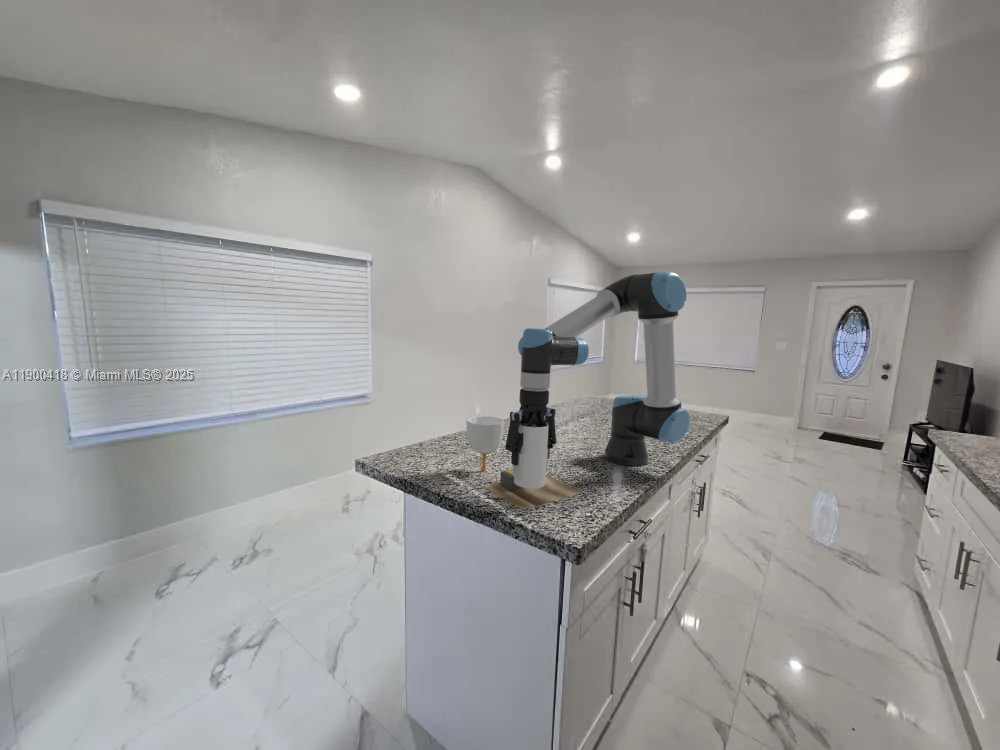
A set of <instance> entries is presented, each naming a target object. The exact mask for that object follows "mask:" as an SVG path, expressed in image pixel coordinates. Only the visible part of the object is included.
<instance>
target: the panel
mask: <svg viewBox="0 0 1000 750" xmlns="http://www.w3.org/2000/svg"><path fill="white" fill-rule="evenodd" d="M483 487H484V488H486V489H488V490H489V491H490V492H492V493H493V494H495V495H498V496H499V497H501V499H504V500H506V501H508V502H509V503H511V504H512V505H514V506H515V507H518V508H519V509H520V510H523V511H526V510H529V509H531V508H532V509H533V508H535V507H539V506H543V505H545V504H546V505H547V504H549V503H553V502H556V501H560V500H563V499H566V498H570V497H573V496H577V495H580V494H584V493H585V491H583V490H582V489H579V488H577V487H574V486H572V485H571V484H569V483H566V482H564V481H561V480H559V479H558V478H556V477H553V476H550V475H548V474H546V477H545V485H544V486H543V487H541V488H536V489H529V488H522V489H518V490H514V491H509V490H508V489H506V488H504V487H502V486H501V485H500V481H499V482H494V483H490V484H486V485H483Z"/></svg>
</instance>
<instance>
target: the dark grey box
mask: <svg viewBox="0 0 1000 750" xmlns="http://www.w3.org/2000/svg"><path fill="white" fill-rule="evenodd" d="M512 474H513V468H512V469H506V470H502V471H500V481H499V482H500V485H501V486H502V487H504V488H506V489H508V490H509V491H514V490H518V489H522V488H523V487H520V486H517V485H516V484H515V483H514V476H513V475H512Z"/></svg>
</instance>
